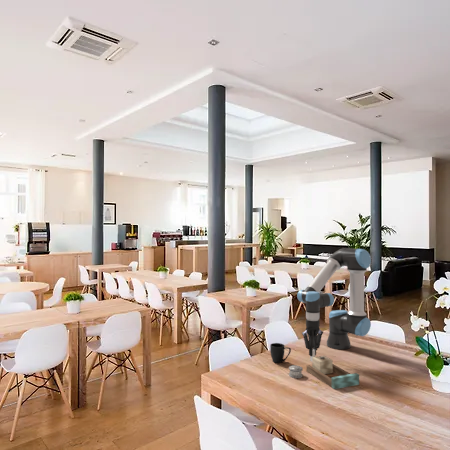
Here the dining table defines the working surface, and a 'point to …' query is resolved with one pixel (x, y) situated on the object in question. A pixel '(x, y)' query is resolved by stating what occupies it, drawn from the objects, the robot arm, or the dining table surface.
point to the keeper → (323, 364)
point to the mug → (278, 352)
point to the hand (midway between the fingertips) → (312, 361)
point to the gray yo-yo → (295, 371)
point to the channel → (338, 381)
